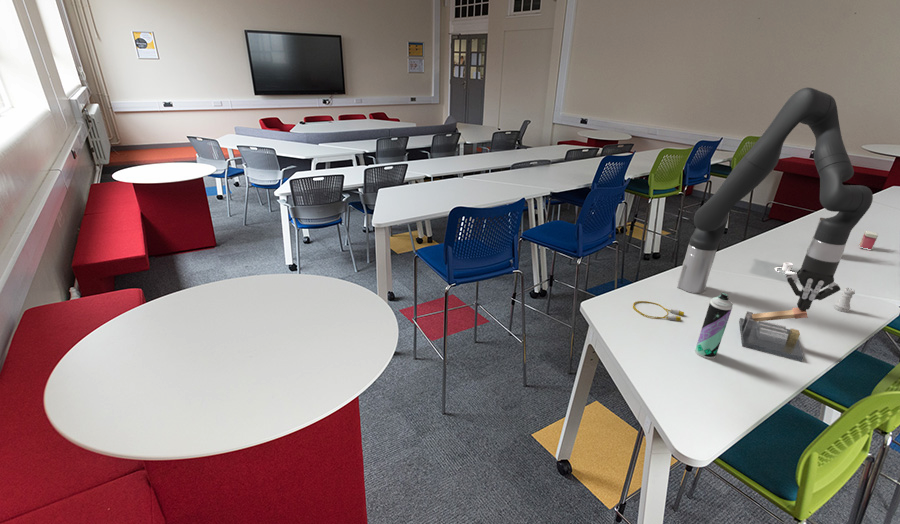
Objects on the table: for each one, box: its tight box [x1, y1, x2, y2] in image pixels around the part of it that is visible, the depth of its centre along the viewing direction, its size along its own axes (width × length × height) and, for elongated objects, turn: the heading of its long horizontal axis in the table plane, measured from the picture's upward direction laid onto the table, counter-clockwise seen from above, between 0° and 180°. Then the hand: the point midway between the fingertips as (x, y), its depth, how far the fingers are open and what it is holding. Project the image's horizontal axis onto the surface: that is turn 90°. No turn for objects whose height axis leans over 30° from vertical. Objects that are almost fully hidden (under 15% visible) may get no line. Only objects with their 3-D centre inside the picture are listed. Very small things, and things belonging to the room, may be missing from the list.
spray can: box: [694, 292, 734, 360], centre depth 127 cm, size 6×6×20 cm
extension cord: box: [632, 300, 685, 322], centre depth 152 cm, size 12×16×2 cm
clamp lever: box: [745, 306, 809, 322], centre depth 135 cm, size 15×4×2 cm, turn 62°
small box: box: [858, 230, 879, 250], centre depth 211 cm, size 5×4×8 cm
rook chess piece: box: [833, 287, 856, 313], centre depth 156 cm, size 4×4×8 cm
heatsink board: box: [738, 311, 804, 362], centre depth 137 cm, size 15×16×7 cm
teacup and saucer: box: [774, 261, 796, 276], centre depth 185 cm, size 9×8×4 cm
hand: (802, 309), depth 131 cm, fingers closed
